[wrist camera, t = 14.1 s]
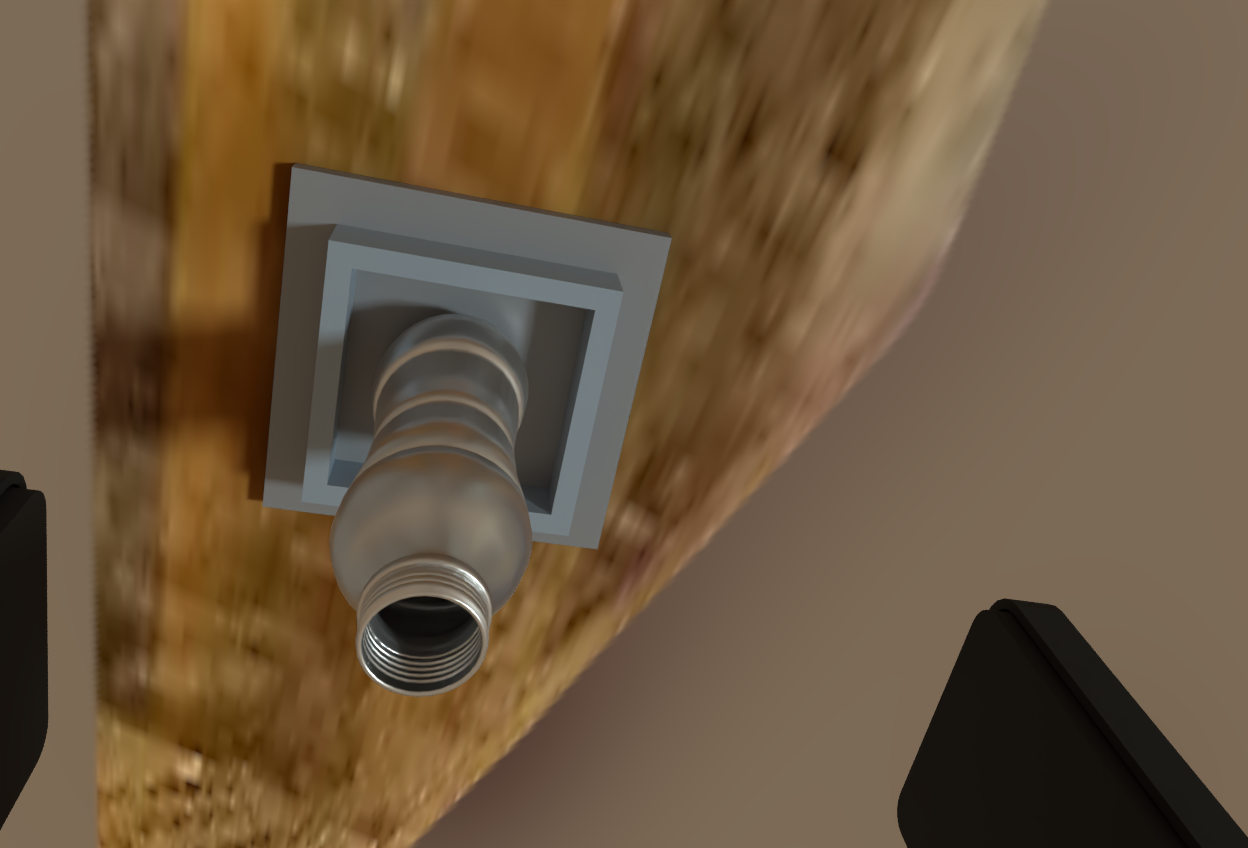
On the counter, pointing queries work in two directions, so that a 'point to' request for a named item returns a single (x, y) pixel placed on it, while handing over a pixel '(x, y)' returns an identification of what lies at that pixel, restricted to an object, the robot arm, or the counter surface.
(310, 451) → the blue-grey square tray
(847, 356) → the counter surface
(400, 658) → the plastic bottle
